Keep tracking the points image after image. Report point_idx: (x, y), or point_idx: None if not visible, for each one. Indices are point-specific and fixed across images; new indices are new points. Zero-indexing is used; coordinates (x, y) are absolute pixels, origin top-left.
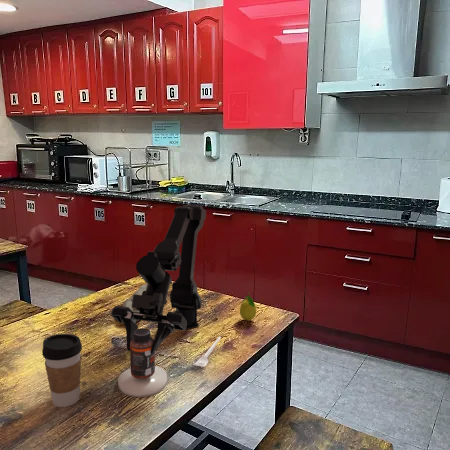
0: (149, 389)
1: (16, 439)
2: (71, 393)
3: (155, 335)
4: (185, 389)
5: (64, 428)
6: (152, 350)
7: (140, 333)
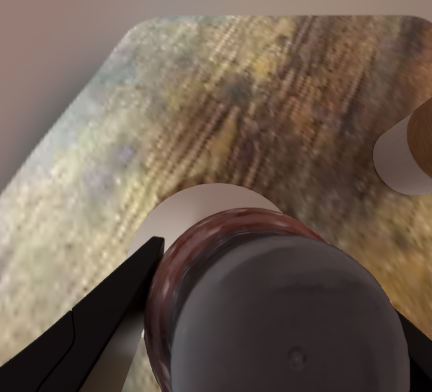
0: (176, 202)
1: (419, 29)
2: (405, 119)
3: (98, 352)
4: (54, 245)
5: (344, 60)
6: (149, 241)
7: (299, 294)
